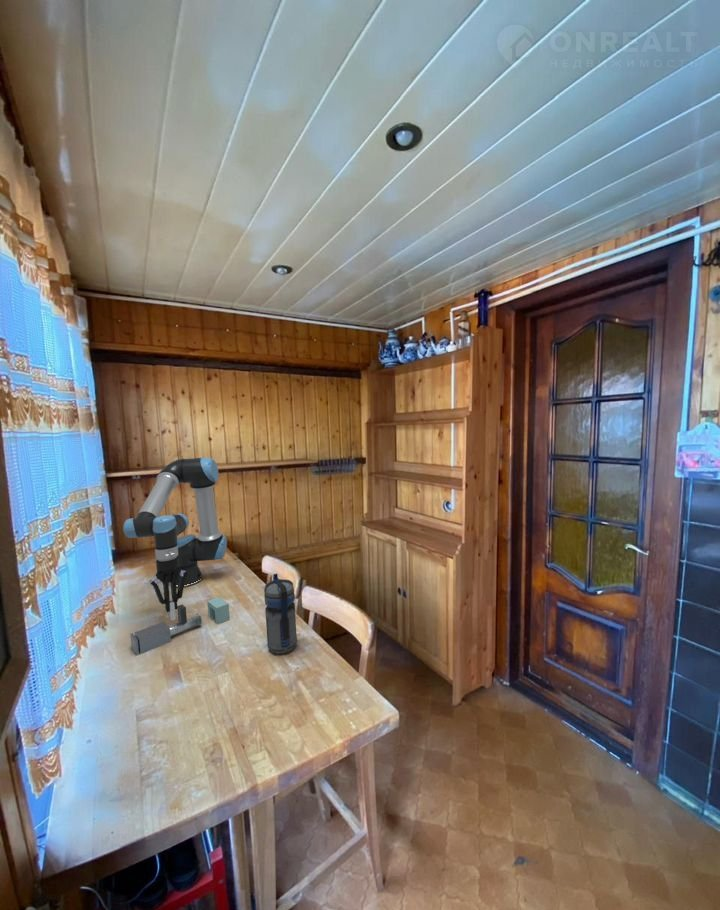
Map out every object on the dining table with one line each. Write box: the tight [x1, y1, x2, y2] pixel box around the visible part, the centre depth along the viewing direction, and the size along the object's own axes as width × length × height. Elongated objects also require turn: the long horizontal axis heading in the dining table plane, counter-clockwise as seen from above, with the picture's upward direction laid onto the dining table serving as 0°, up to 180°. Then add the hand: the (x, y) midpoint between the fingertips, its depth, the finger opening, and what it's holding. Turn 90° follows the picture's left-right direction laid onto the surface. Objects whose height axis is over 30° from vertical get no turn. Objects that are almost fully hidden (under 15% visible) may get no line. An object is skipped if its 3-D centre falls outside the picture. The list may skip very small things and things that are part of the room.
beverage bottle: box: [263, 573, 298, 655], centre depth 130 cm, size 10×13×25 cm
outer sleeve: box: [129, 621, 172, 656], centre depth 136 cm, size 11×7×5 cm, turn 134°
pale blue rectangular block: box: [206, 596, 231, 625], centre depth 153 cm, size 5×9×7 cm, turn 44°
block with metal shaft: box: [137, 604, 203, 650], centre depth 140 cm, size 22×4×10 cm, turn 134°
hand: (172, 618), depth 141 cm, fingers closed
